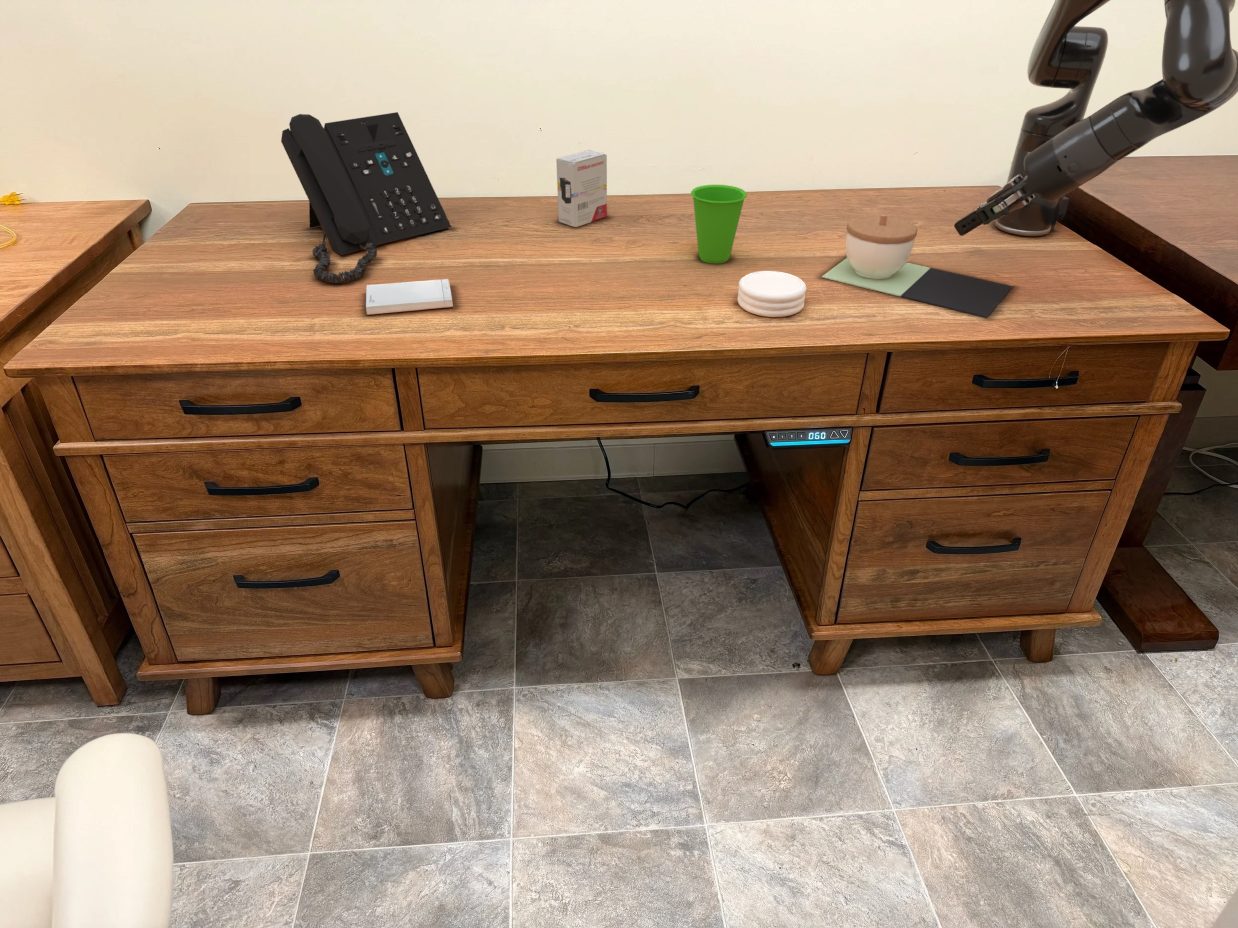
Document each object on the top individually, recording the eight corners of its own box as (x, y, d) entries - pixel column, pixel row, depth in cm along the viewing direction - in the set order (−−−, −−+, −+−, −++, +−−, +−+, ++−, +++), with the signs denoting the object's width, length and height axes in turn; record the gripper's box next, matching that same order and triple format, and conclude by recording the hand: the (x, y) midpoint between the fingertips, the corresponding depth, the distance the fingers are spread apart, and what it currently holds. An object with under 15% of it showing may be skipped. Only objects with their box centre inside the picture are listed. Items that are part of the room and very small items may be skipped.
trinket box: (911, 265, 138) (923, 209, 133) (903, 289, 130) (915, 230, 125) (846, 256, 142) (855, 201, 136) (834, 279, 133) (843, 221, 128)
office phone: (328, 289, 130) (300, 155, 118) (256, 241, 147) (226, 120, 136) (486, 245, 146) (475, 124, 134) (404, 206, 163) (388, 96, 152)
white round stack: (731, 292, 129) (732, 270, 127) (794, 290, 130) (796, 268, 128) (744, 319, 121) (747, 297, 119) (811, 317, 122) (815, 295, 120)
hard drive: (365, 306, 121) (452, 297, 123) (366, 284, 127) (448, 276, 130) (367, 316, 122) (453, 308, 124) (367, 294, 128) (449, 286, 131)
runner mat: (1012, 287, 131) (1012, 286, 131) (987, 318, 122) (987, 316, 122) (855, 252, 144) (855, 251, 144) (821, 277, 134) (821, 276, 134)
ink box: (590, 211, 161) (589, 148, 154) (608, 217, 158) (608, 153, 152) (557, 222, 156) (555, 157, 149) (575, 228, 153) (573, 162, 146)
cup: (738, 270, 137) (744, 203, 131) (683, 265, 138) (687, 199, 132) (743, 250, 144) (749, 186, 138) (690, 246, 146) (694, 183, 139)
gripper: (1067, 126, 117) (958, 197, 130) (1044, 146, 108) (929, 221, 121) (1095, 171, 117) (984, 237, 130) (1075, 194, 109) (958, 264, 121)
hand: (958, 229), depth 126 cm, fingers closed
